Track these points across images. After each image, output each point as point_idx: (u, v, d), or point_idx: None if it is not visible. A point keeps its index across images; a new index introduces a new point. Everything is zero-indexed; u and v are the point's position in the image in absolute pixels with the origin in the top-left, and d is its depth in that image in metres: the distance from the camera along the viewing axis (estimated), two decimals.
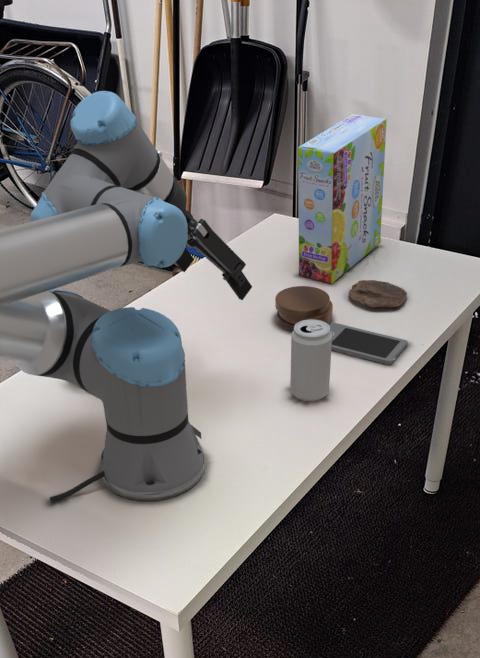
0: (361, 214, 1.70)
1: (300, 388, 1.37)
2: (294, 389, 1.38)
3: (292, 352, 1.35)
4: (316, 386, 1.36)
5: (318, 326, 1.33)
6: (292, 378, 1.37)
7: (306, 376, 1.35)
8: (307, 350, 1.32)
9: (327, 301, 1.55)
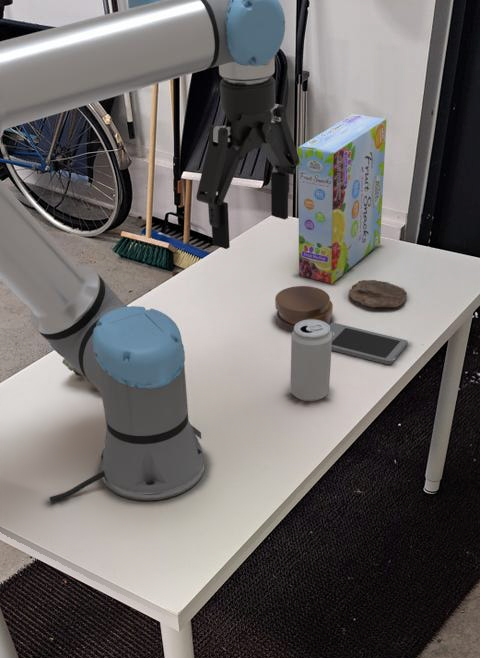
0: (361, 214, 1.70)
1: (300, 388, 1.37)
2: (294, 389, 1.38)
3: (292, 352, 1.35)
4: (316, 386, 1.36)
5: (318, 326, 1.33)
6: (292, 378, 1.37)
7: (306, 376, 1.35)
8: (307, 350, 1.32)
9: (327, 301, 1.55)
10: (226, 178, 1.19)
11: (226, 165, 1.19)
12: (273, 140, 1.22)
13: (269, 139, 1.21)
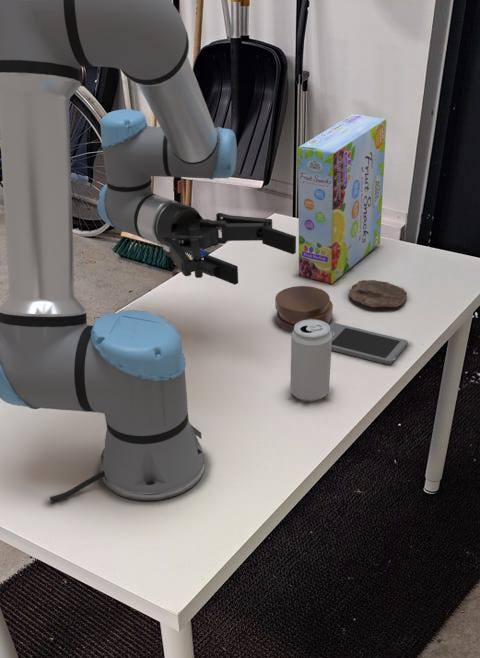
0: (361, 214, 1.70)
1: (300, 388, 1.37)
2: (294, 389, 1.38)
3: (292, 352, 1.35)
4: (316, 386, 1.36)
5: (318, 326, 1.33)
6: (292, 378, 1.37)
7: (306, 376, 1.35)
8: (307, 350, 1.32)
9: (327, 301, 1.55)
10: None
11: None
12: None
13: None
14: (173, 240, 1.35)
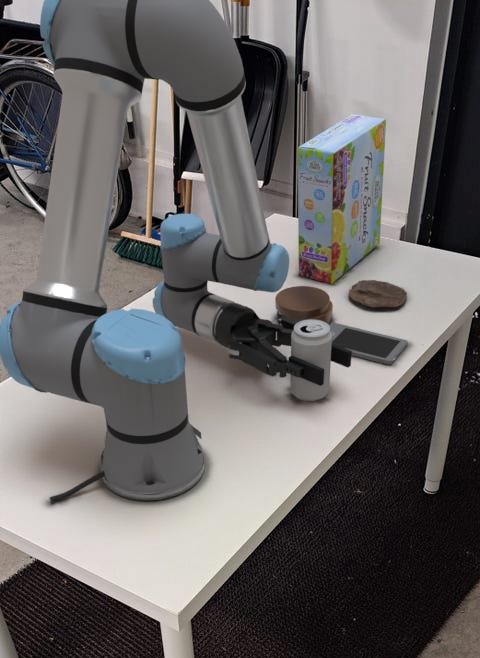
0: (361, 214, 1.70)
1: (300, 388, 1.37)
2: (294, 389, 1.38)
3: (292, 352, 1.35)
4: (316, 386, 1.36)
5: (318, 326, 1.33)
6: (292, 378, 1.37)
7: None
8: (307, 350, 1.32)
9: (327, 301, 1.55)
10: None
11: None
12: None
13: None
14: (241, 344, 1.38)
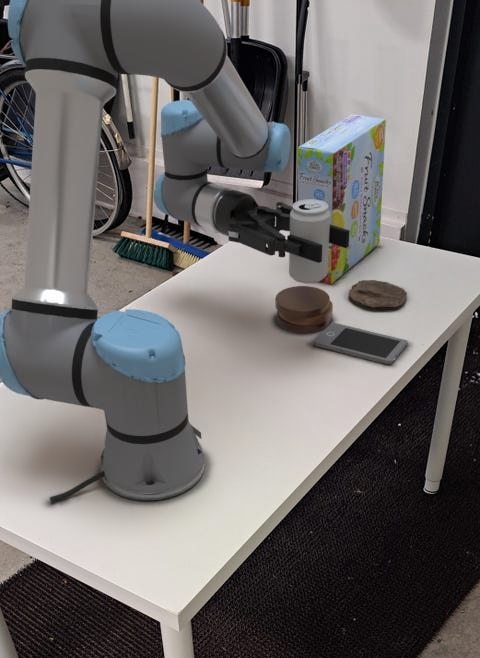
0: (361, 214, 1.70)
1: (299, 268, 1.39)
2: (293, 271, 1.40)
3: (291, 231, 1.36)
4: (314, 266, 1.38)
5: (316, 204, 1.35)
6: (291, 259, 1.39)
7: None
8: (305, 227, 1.34)
9: (327, 301, 1.55)
10: None
11: None
12: None
13: None
14: (240, 225, 1.40)
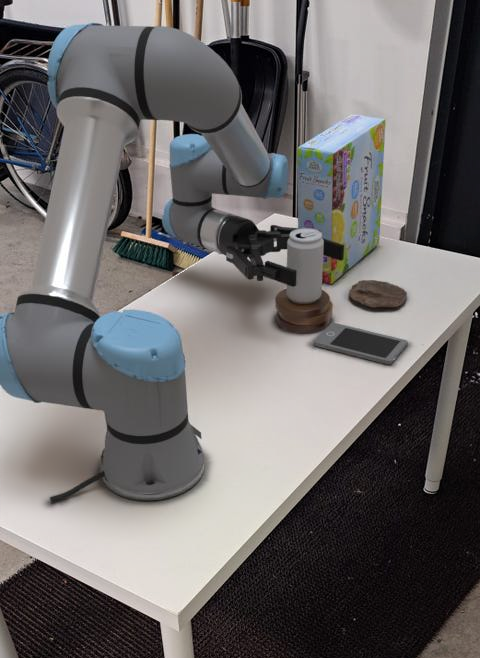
0: (361, 214, 1.70)
1: (296, 290, 1.53)
2: (290, 293, 1.54)
3: (288, 257, 1.50)
4: (310, 289, 1.52)
5: (311, 233, 1.49)
6: None
7: (301, 279, 1.51)
8: (301, 254, 1.48)
9: (327, 301, 1.55)
10: None
11: None
12: None
13: None
14: (236, 248, 1.53)
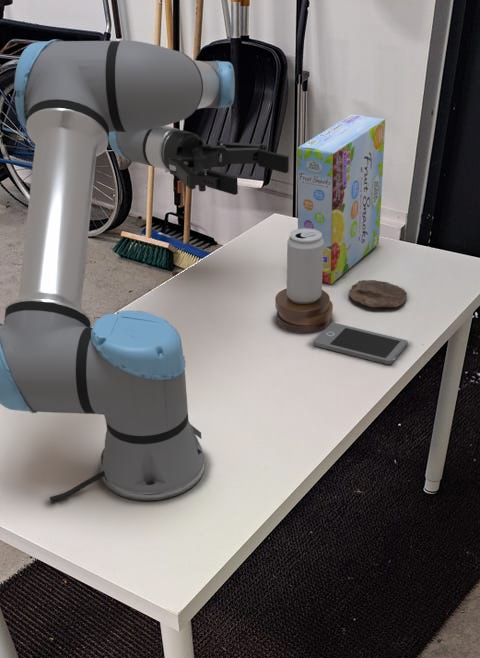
0: (361, 215, 1.70)
1: (296, 290, 1.53)
2: (290, 293, 1.54)
3: (288, 257, 1.50)
4: (310, 289, 1.52)
5: (311, 233, 1.49)
6: (288, 282, 1.53)
7: (301, 279, 1.51)
8: (301, 254, 1.48)
9: (327, 301, 1.55)
10: None
11: None
12: None
13: None
14: (179, 160, 1.51)
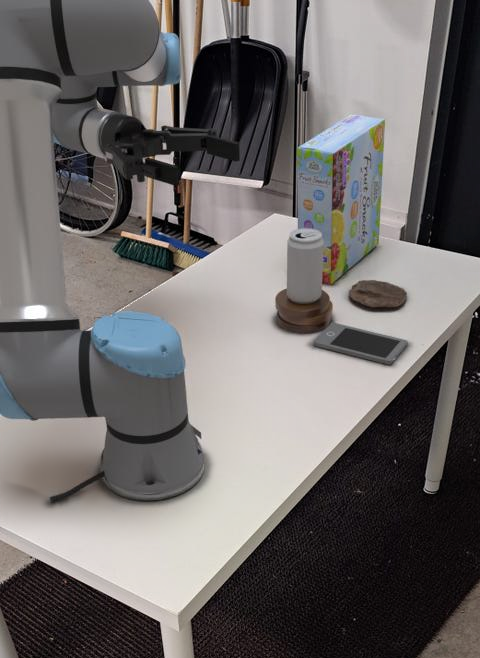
0: (360, 215, 1.70)
1: (296, 290, 1.53)
2: (290, 293, 1.54)
3: (288, 257, 1.50)
4: (310, 289, 1.52)
5: (311, 233, 1.49)
6: (288, 282, 1.53)
7: (301, 279, 1.51)
8: (301, 254, 1.48)
9: (327, 301, 1.55)
10: None
11: None
12: None
13: None
14: (116, 147, 1.35)
